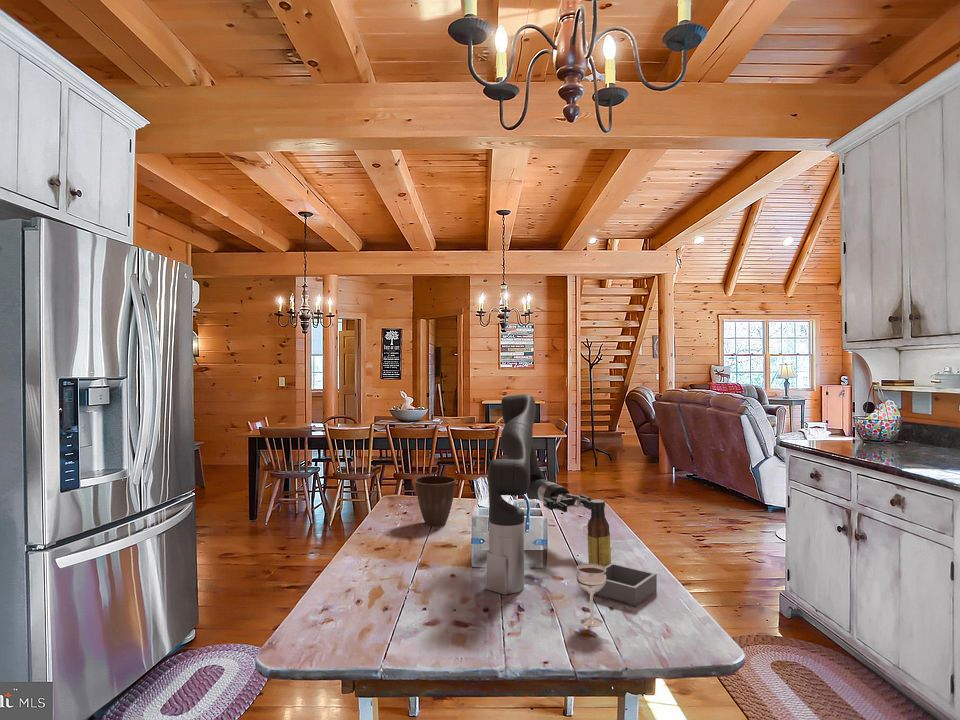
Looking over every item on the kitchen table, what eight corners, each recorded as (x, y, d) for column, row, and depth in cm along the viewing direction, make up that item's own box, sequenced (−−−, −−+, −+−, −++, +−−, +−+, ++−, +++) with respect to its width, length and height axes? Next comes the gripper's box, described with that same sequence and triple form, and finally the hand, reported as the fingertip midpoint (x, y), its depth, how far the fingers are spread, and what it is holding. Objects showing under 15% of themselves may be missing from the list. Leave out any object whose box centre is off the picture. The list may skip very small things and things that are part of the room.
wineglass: (600, 631, 130) (600, 576, 130) (571, 623, 133) (571, 570, 133) (611, 619, 135) (611, 567, 135) (583, 612, 139) (583, 561, 139)
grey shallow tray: (635, 607, 142) (635, 588, 142) (588, 594, 150) (588, 576, 150) (656, 591, 152) (656, 573, 152) (611, 580, 160) (611, 563, 160)
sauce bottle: (612, 569, 168) (612, 499, 168) (609, 576, 162) (609, 504, 162) (589, 566, 170) (589, 497, 170) (585, 573, 164) (585, 502, 164)
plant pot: (454, 529, 207) (455, 484, 207) (412, 529, 207) (412, 483, 207) (457, 518, 222) (457, 475, 222) (417, 518, 222) (417, 475, 222)
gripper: (533, 485, 190) (557, 497, 174) (572, 482, 195) (599, 493, 179) (533, 508, 190) (557, 522, 175) (572, 504, 195) (599, 517, 180)
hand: (579, 507), depth 177 cm, fingers open, 8 cm apart
